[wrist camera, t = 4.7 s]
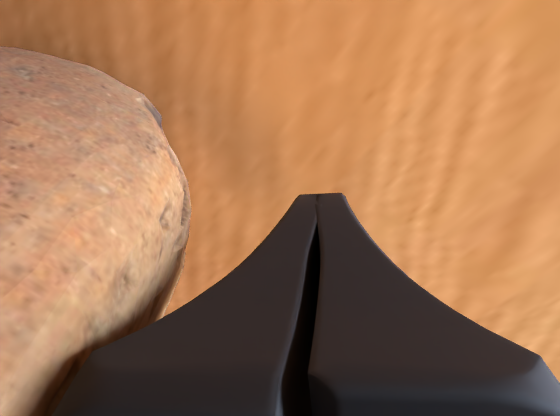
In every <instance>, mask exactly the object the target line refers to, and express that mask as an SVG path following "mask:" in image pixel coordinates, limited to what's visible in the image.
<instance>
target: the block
mask: <svg viewBox="0 0 560 416" xmlns="http://www.w3.org/2000/svg"><path fill="white" fill-rule="evenodd" d="M161 121H162V116H161V114H160V113H159V112H158V111H157V109H156V108H155V107H154V106H153V104H152V103H151V102H150V101H149V100H148V99H147V98H146V96H145V95H144V94H142V93H140V92H138V91H136V90H134V89H132V88H130V87H128V86H126V85H125V84H123V83H121V82H119V81H118V80H116V79H114V78H112V77H111V76H109V75H107V74H105V73H104V72H102V71H100V70H97V69H95V68H93V67H91V66H88V65H85V64H81V63H77V62H73V61H69V60H66V59H62V58H58V57H55V56H51V55H47V54H43V53H39V52H34V51H30V50H25V49H21V48H16V47H1V46H0V416H52V414H53V412H54V411H55V409H56V408H57V406H58V404H59V403H60V401H61V399H62V398H63V396H64V394H65V393H66V391H67V389H68V388H69V386H70V384H71V383H72V381H73V379H74V378H75V376H76V374H77V373H78V371H79V370H80V368H81V367H82V365H83V364H84V362H85V361H86V359H87V358H88V357H89V355H90V354H91V352H92V351H94V350H96V349H99V348H101V347H103V346H106V345H108V344H110V343H112V342H114V341H116V340H118V339H121V338H123V337H125V336H127V335H129V334H131V333H133V332H136V331H138V330H140V329H142V328H144V327H146V326H148V325H150V324H152V323H154V322H156V321H157V320H159V319H161V318H163V315H164V313H165V311H166V308H167V306H168V304H169V301H170V299H171V297H172V295H173V292H174V290H175V288H176V285H177V283H178V281H179V279H180V276H181V273H182V270H183V267H184V261H185V248H186V244H187V241H188V237H189V228H190V217H191V202H190V194H189V186H188V180H187V179H186V177H185V174H184V172H183V170H182V168H181V165H180V163H179V161H178V159H177V156H176V155H175V153H174V152H173V150H172V149H171V147H170V146H169V144H168V141H167V139H166V137H165V134H164V132H163V129H162V125H161Z"/></svg>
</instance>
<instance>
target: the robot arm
mask: <svg viewBox="0 0 560 416" xmlns="http://www.w3.org/2000/svg"><path fill="white" fill-rule="evenodd" d="M52 416H560V383H559V382H558V380H557V379H556V377H555V376H554V375H553V373H552V372H551V371H550V369H549V368H548V366H547V365H546V364H545V362H544V361H543V359H542V358H541V356H540V355H538V354H536V353H534V352H532V351H530V350H528V349H526V348H524V347H522V346H520V345H518V344H516V343H514V342H512V341H510V340H507V339H505V338H503V337H501V336H499V335H497V334H495V333H493V332H491V331H489V330H487V329H486V328H484V327H482V326H480V325H478V324H477V323H475V322H473V321H472V320H470V319H468V318H467V317H465V316H463V315H462V314H460V313H458V312H457V311H455V310H453V309H452V308H450V307H449V306H447V305H446V304H444V303H443V302H441V301H440V300H438V299H437V298H436V297H434V296H433V295H431V294H430V293H429V292H427V291H426V290H425V289H423V288H422V287H420V286H419V285H418V284H417V283H415V282H414V281H413V280H412V279H411V278H409V277H408V276H407V275H406V274H405V273H404V272H403V271H402V270H401V269H399V268H398V267H397V266H396V265H395V264H394V263H393V262H392V261H391V260H390V259H389V258H388V257H387V256H386V255H385V253H384V252H383V251H382V250H381V249H380V248H379V247H378V246H377V244H376V243H375V242H374V241H373V240H372V238H371V237H370V236H369V235H368V233H367V232H366V231H365V229H364V228H363V226H362V225H361V224H360V222H359V221H358V219H357V218H356V216H355V215H354V213H353V211H352V210H351V208H350V206H349V204H348V202H347V199H346V197H345V196H344V195H343V194H342V193H327V194H304V195H299V196H298V197H297V198H296V199H295V200H294V202H293V203H292V205H291V206H290V208H289V209H288V211H287V212H286V213H285V215H284V216H283V217H282V219H281V220H280V221H279V223H278V224H277V225H276V226H275V227H274V229H273V230H272V231H271V232H270V234H269V235H268V236H267V237H266V238H265V239H264V240H263V242H262V243H261V244H260V245H259V246H258V247H257V248H256V249H255V250H254V251H253V252H252V253H251V254H250V255H249V256H248V257H247V258H246V259H245V260H244V261H243V262H242V263H241V264H240V265H239V266H238V267H236V268H235V269H234V270H233V271H232V272H230V273H229V274H228V275H227V276H226V277H224V278H223V279H222V280H220V281H219V282H217V283H216V284H215V285H213V286H212V287H210V288H209V289H207V290H206V291H205V292H203V293H202V294H200V295H199V296H198V297H196V298H195V299H193V300H192V301H190V302H188V303H187V304H185V305H183V306H182V307H180V308H178V309H177V310H175V311H174V312H172V313H170V314H168V315H166V316H165V317H163V318H161V319H159V320H157V321H156V322H154V323H152V324H150V325H148V326H146V327H144V328H142V329H140V330H138V331H136V332H133V333H131V334H129V335H127V336H125V337H123V338H121V339H118V340H116V341H114V342H112V343H110V344H108V345H106V346H103V347H101V348H99V349H96V350H94V351H92V352H91V354H90V355H89V357H88V358H87V359H86V361H85V362H84V364H83V365H82V367H81V368H80V370H79V371H78V373H77V374H76V376H75V378H74V379H73V381H72V383H71V384H70V386H69V388H68V389H67V391H66V393H65V394H64V396H63V398H62V399H61V401H60V403H59V404H58V406H57V408H56V409H55V411H54V412H53V414H52Z"/></svg>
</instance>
